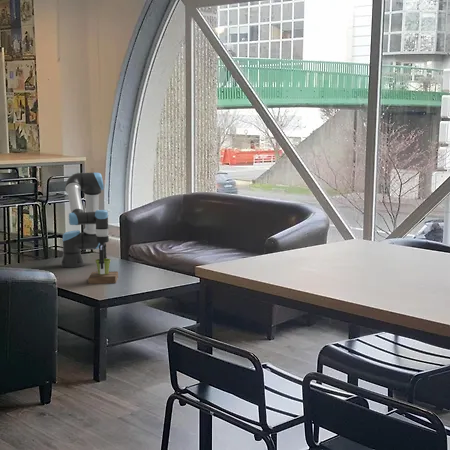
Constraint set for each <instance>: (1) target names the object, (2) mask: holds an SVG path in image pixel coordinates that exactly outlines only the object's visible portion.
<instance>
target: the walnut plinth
mask: <svg viewBox="0 0 450 450" xmlns="http://www.w3.org/2000/svg"><path fill="white" fill-rule="evenodd" d="M118 279H119V271H115V270H114V271H109V273H108V274H106V275H104V274H103V275H99V274H98V271H92V272H91V273H90V275H89V276H88V284H89V285H93V284H95V285H96V284H116V283H117V281H118Z"/></svg>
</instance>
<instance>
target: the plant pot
mask: <svg viewBox="0 0 450 450" xmlns="http://www.w3.org/2000/svg"><path fill="white" fill-rule="evenodd" d="M111 261H112V260H111V259H110V258H107V259H104V264H105V274H104V275H106V274H108V273H109V272H110V271H109V270H110V264H111ZM94 262H95V263H96V269H97V272H98V274H99V275H103V274H100V264H99V263H98V262H99V258H97V259H95V260H94Z"/></svg>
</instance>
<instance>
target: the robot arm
mask: <svg viewBox="0 0 450 450" xmlns="http://www.w3.org/2000/svg"><path fill="white" fill-rule="evenodd" d="M64 185H65V192H66V194H67V197H68V201H69V202H68V203H69V208H70V212H69V213H68V223H69V225H70V226H81V225H83V226H84V225H85V227H84V228H83V232H81V231H80V230H78V229H77V230H70V231H66V232H64V233H62V257H61V261H60V267H62V268H71V269H73V268H80V267H84V265H85V262H84V259H83V256H82V254H81V253H82V252H81V251H82V250H83V251H84V250H98V256H99V258H98V259H99V262H98V263H99V264H100V274H105V264H104V259H108V258H107V257H108V256H107V243H109V242H110V241H109V234H110V233H109V214H108V210H107V209H99V208H100V195H101V194H102V191H104V189H105V188H104V180H103V175H102V173H100V172H76V173H74V174H73V173H72V175H71V176H69V177H68V178H67V180H66V182H65V184H64ZM82 191H83V194H84V195H85V210H84V207H83V202H82V197H81V192H82ZM84 211H85V212H84Z"/></svg>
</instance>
